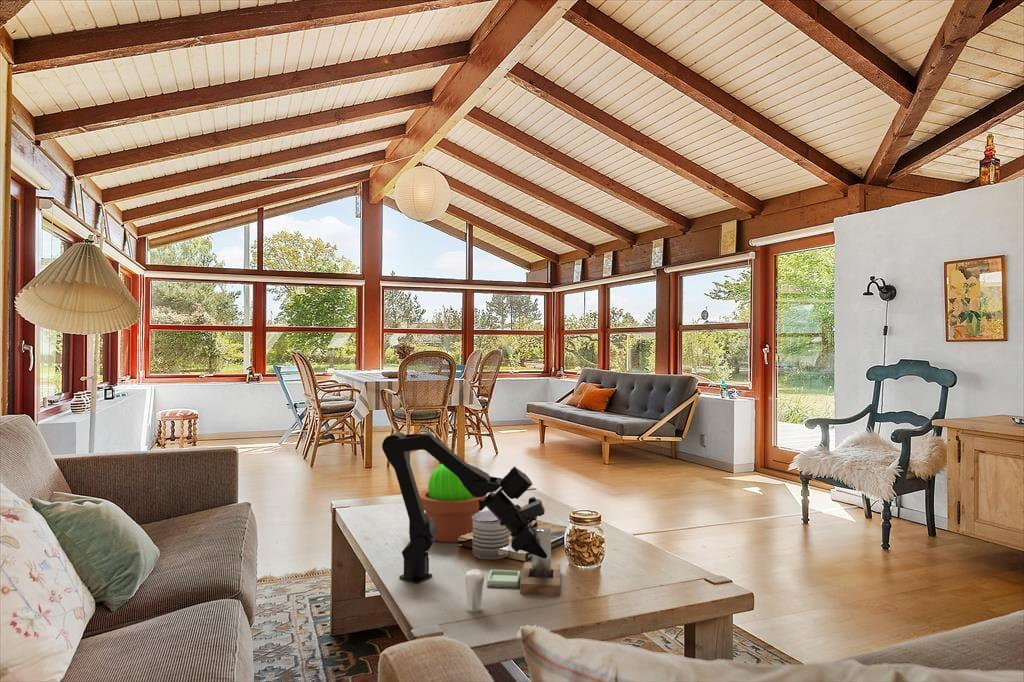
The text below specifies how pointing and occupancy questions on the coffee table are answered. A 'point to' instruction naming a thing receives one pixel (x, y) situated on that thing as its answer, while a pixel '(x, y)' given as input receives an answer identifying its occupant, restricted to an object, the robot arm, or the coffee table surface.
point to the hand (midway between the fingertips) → (546, 554)
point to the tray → (503, 578)
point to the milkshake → (474, 589)
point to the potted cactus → (449, 505)
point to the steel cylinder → (539, 564)
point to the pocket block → (540, 581)
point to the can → (488, 536)
